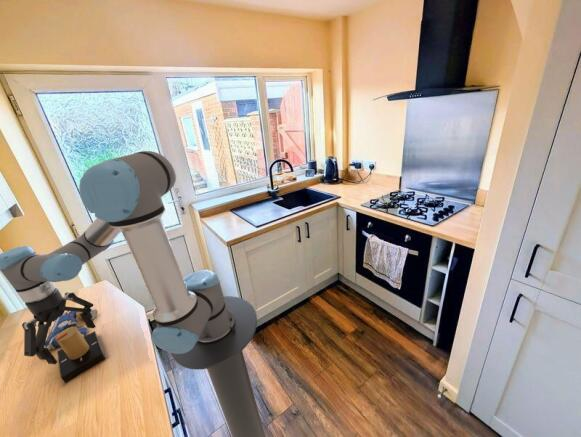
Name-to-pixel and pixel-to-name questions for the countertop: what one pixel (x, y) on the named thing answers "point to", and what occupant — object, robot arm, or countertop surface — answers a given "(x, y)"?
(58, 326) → the spray gun
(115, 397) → the countertop surface
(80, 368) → the black dial panel
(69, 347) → the brass dial cylinder
